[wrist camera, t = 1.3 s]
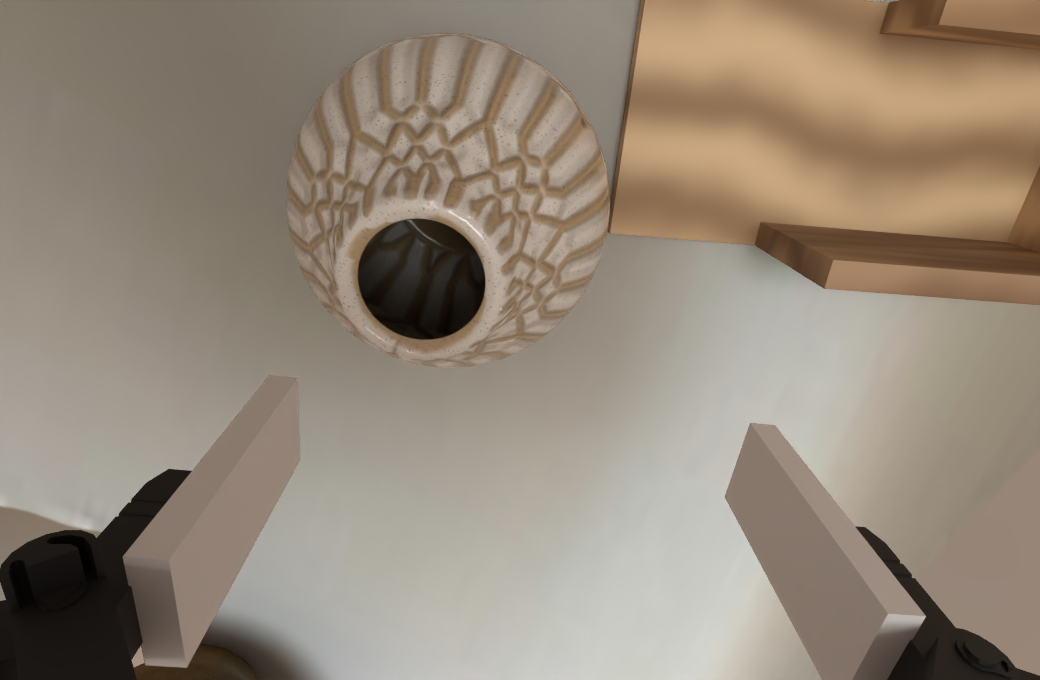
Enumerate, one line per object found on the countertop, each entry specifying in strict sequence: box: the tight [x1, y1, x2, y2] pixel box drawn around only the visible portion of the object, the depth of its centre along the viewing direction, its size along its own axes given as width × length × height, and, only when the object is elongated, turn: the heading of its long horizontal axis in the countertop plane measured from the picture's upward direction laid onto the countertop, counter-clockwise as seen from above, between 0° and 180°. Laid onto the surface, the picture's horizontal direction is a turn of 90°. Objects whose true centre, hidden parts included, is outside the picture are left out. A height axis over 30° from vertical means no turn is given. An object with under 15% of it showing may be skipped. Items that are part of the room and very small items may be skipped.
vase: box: [286, 33, 610, 368], centre depth 27 cm, size 16×16×20 cm
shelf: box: [607, 0, 1040, 305], centre depth 31 cm, size 14×27×10 cm, turn 85°
